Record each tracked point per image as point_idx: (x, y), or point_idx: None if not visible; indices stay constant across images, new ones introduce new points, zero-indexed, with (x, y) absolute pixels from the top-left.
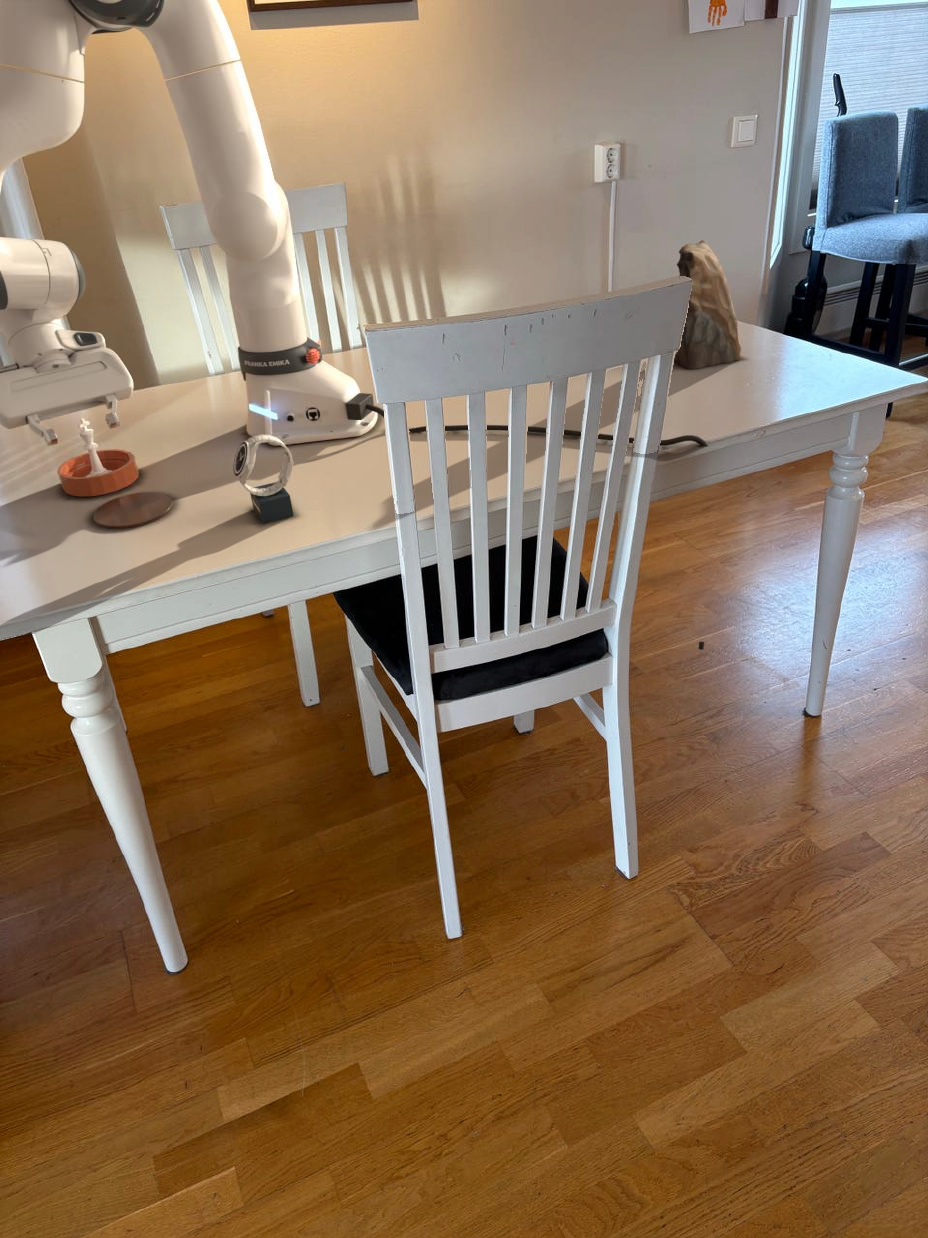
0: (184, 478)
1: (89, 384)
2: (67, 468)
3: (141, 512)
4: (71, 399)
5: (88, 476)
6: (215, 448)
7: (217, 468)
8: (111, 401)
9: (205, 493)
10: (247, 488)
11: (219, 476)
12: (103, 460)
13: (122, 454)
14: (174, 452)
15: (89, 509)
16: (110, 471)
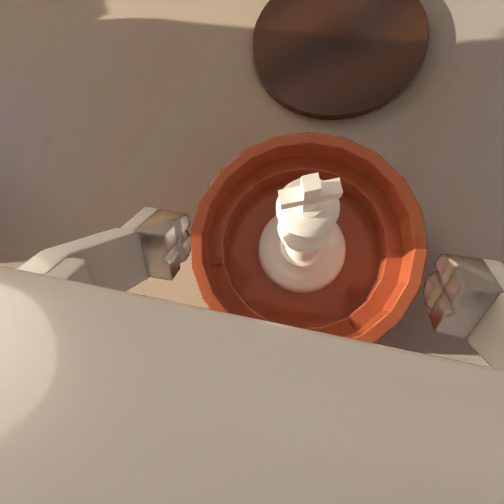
0: (170, 110)
1: (19, 372)
2: (364, 327)
3: (334, 7)
4: (277, 333)
5: (328, 260)
6: (27, 204)
7: (100, 101)
8: (70, 257)
9: (193, 12)
10: None
11: (125, 62)
12: (247, 316)
13: (205, 262)
14: None
15: (401, 127)
16: (271, 239)
